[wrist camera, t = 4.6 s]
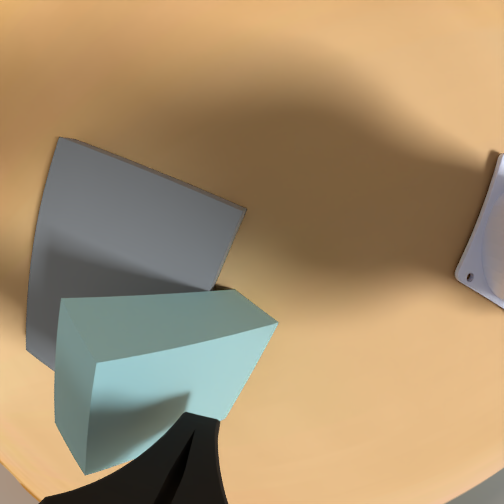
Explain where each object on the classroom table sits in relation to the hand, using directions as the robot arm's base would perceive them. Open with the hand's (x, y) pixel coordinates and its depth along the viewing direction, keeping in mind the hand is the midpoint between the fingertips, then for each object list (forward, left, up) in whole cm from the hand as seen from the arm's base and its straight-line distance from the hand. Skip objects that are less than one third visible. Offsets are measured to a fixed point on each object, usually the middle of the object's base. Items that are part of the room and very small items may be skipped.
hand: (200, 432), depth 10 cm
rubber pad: (+8, 0, -6) cm, 10 cm away
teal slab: (0, 0, -6) cm, 6 cm away
